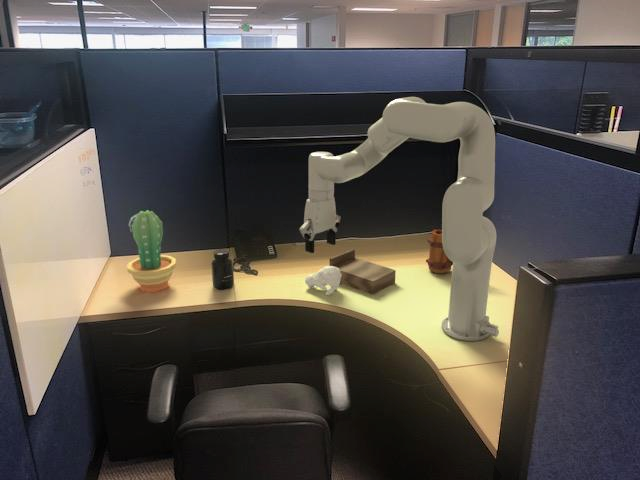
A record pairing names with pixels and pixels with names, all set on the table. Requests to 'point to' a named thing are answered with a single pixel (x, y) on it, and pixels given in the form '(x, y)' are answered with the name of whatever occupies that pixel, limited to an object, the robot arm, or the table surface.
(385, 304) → the table surface
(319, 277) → the white animal figurine
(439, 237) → the mug
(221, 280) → the supplement bottle
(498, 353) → the table surface
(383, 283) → the display ledge
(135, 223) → the potted cactus
